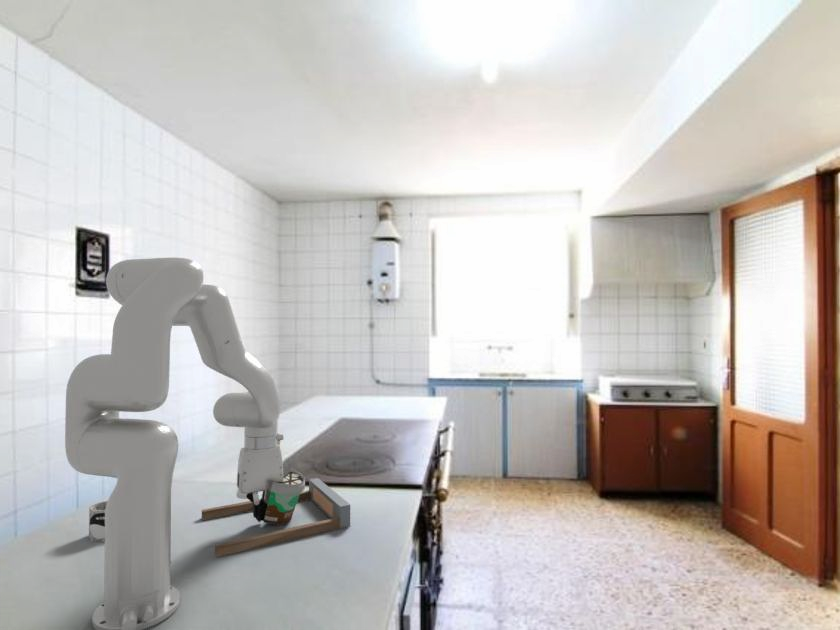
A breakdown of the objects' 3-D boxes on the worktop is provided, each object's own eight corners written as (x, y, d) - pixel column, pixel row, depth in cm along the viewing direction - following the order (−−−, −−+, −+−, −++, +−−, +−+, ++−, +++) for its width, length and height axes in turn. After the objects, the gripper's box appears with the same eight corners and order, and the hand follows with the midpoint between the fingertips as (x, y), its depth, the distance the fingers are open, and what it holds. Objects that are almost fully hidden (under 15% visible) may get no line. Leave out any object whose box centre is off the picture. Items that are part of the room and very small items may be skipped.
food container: (285, 532, 111) (297, 490, 111) (260, 524, 112) (272, 482, 112) (302, 512, 123) (313, 474, 124) (280, 505, 124) (290, 467, 124)
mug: (83, 543, 106) (84, 512, 106) (95, 530, 112) (95, 501, 112) (135, 537, 108) (135, 507, 108) (143, 525, 115) (144, 497, 115)
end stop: (350, 525, 114) (350, 504, 114) (339, 528, 113) (339, 506, 113) (317, 495, 134) (317, 477, 134) (307, 497, 133) (307, 479, 133)
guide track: (340, 528, 113) (340, 519, 113) (216, 556, 99) (216, 547, 99) (308, 497, 133) (308, 490, 133) (201, 518, 119) (201, 509, 119)
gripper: (287, 435, 123) (287, 508, 122) (224, 442, 115) (224, 520, 114) (296, 441, 116) (296, 518, 116) (230, 449, 108) (230, 532, 108)
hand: (260, 519), depth 115 cm, fingers closed
